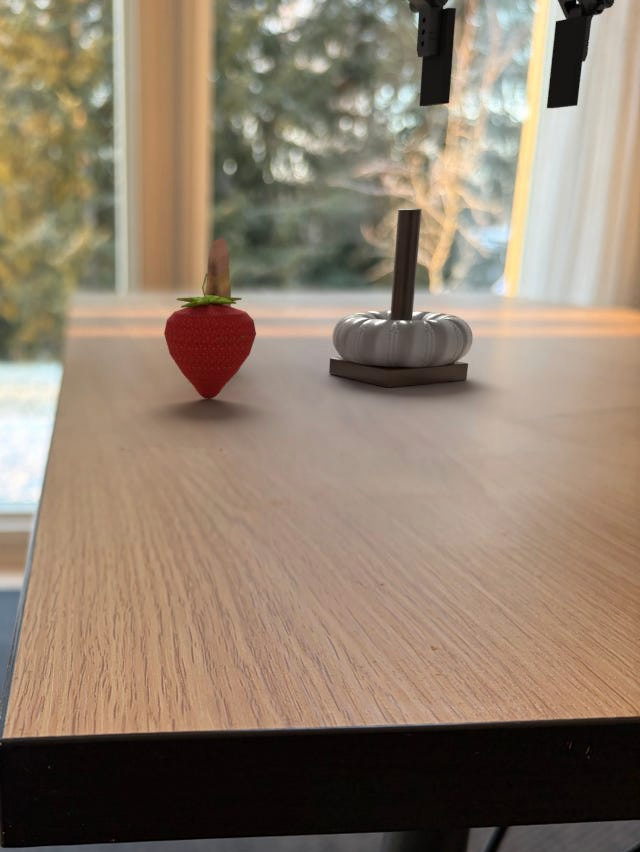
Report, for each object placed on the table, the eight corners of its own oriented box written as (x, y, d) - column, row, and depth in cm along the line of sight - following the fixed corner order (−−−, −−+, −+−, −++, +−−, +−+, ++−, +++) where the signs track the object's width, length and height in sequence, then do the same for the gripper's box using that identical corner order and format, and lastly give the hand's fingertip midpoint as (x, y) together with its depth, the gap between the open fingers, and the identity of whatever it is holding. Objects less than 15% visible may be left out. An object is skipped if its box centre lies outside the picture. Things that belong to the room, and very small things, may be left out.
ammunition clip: (213, 362, 107) (214, 236, 103) (231, 363, 107) (233, 236, 102) (201, 379, 97) (202, 241, 93) (221, 380, 97) (223, 241, 93)
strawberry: (252, 406, 85) (256, 275, 81) (160, 404, 86) (159, 275, 82) (255, 393, 90) (259, 270, 87) (168, 392, 91) (168, 270, 87)
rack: (404, 367, 104) (417, 208, 98) (466, 380, 96) (485, 208, 91) (328, 373, 100) (337, 209, 95) (387, 387, 93) (401, 210, 87)
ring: (410, 348, 105) (413, 306, 104) (497, 364, 95) (503, 318, 94) (306, 356, 100) (308, 312, 99) (386, 374, 90) (390, 326, 89)
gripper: (610, -177, 87) (577, 111, 95) (360, -218, 77) (347, 107, 85) (688, -208, 80) (646, 103, 89) (427, -256, 71) (406, 99, 79)
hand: (499, 106), depth 87 cm, fingers open, 13 cm apart
